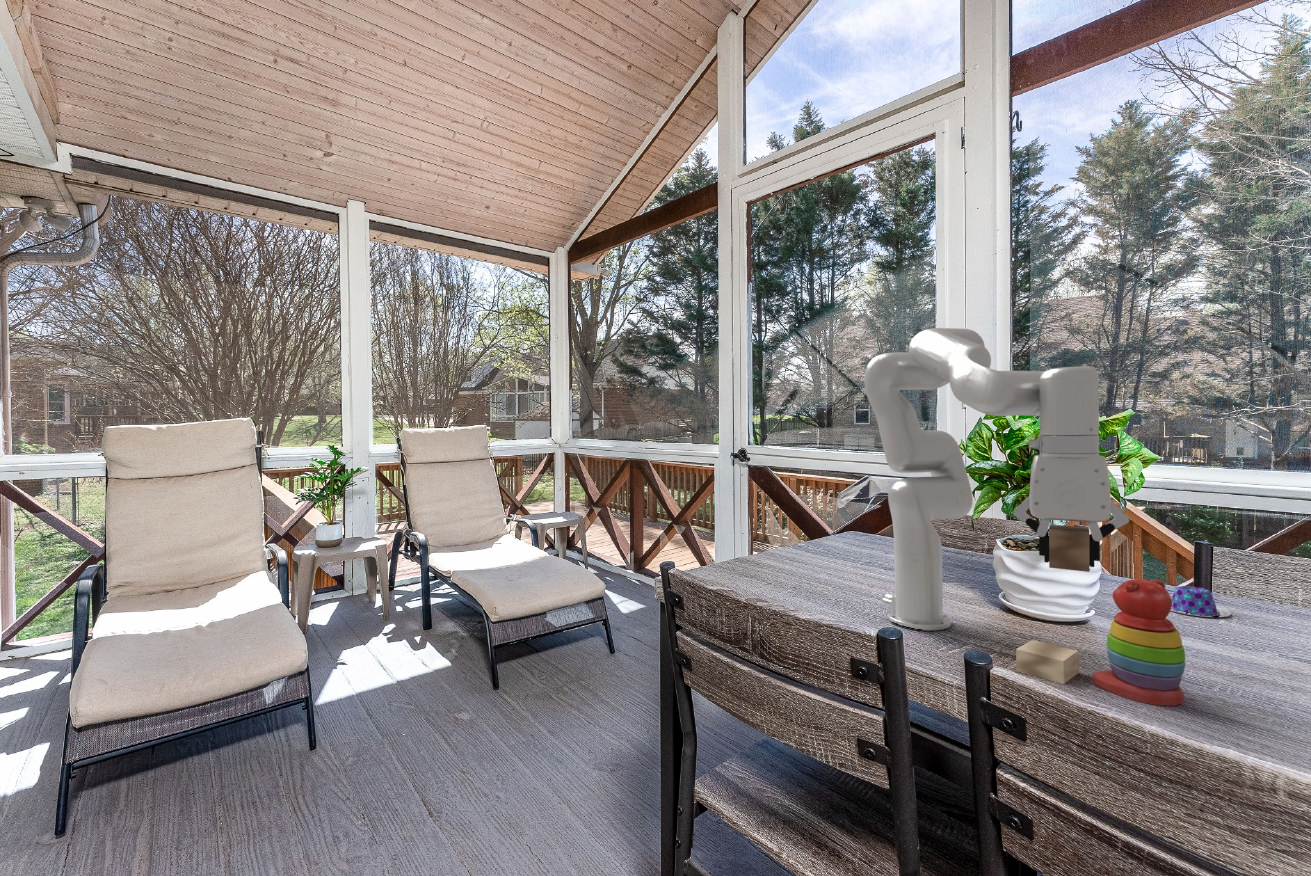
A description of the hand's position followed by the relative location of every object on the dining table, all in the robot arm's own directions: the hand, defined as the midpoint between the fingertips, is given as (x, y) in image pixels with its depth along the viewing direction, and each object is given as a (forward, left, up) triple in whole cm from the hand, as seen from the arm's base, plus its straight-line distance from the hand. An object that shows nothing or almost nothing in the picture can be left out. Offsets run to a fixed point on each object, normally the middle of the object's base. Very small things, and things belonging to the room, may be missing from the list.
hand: (1068, 561), depth 90 cm
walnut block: (0, 0, -1) cm, 1 cm away
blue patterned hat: (-8, +68, -21) cm, 72 cm away
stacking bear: (+5, +10, -21) cm, 24 cm away
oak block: (-7, +6, -21) cm, 23 cm away
